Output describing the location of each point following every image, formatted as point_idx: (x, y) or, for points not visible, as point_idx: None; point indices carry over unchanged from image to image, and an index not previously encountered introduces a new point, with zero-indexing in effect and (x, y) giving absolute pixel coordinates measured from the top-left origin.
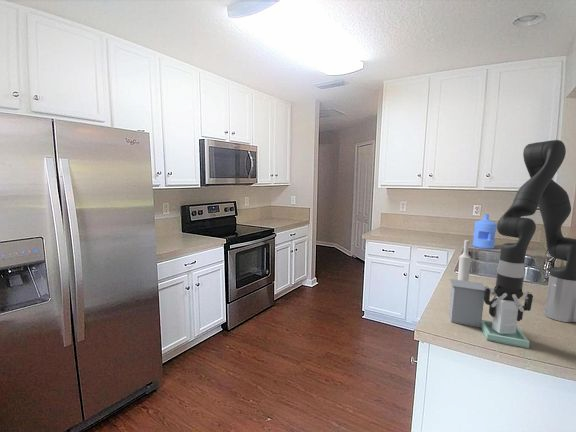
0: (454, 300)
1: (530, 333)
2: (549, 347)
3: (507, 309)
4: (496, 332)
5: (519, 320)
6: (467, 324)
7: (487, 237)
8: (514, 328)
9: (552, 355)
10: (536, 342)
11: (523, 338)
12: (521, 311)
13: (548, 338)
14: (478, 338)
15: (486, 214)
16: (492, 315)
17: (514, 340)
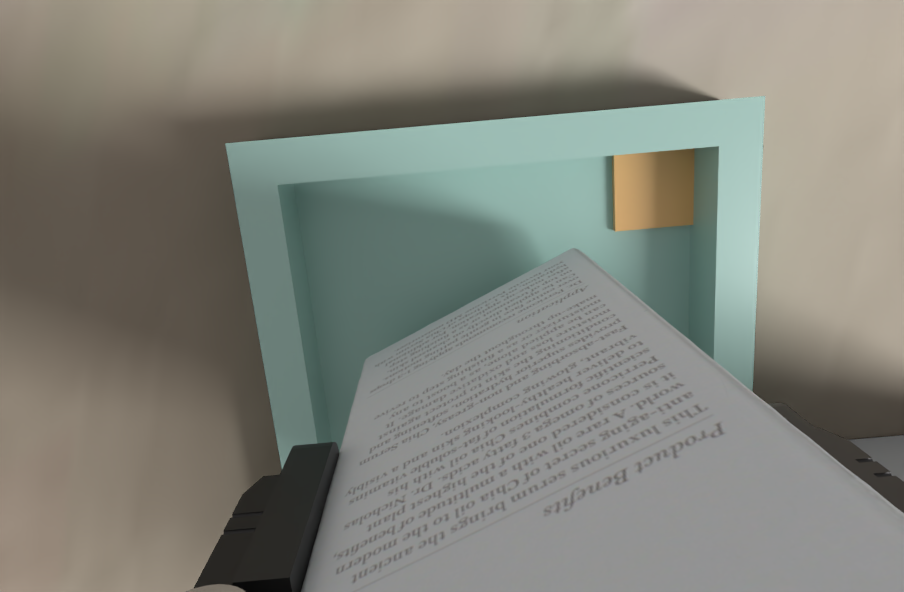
0: None
1: (185, 572)
2: (26, 300)
3: (606, 480)
4: None
5: (300, 448)
6: (867, 441)
7: None
8: (382, 374)
9: (12, 80)
10: (149, 363)
11: (289, 244)
12: (220, 586)
13: (17, 540)
14: (817, 100)
15: None
16: (787, 409)
17: (413, 127)
